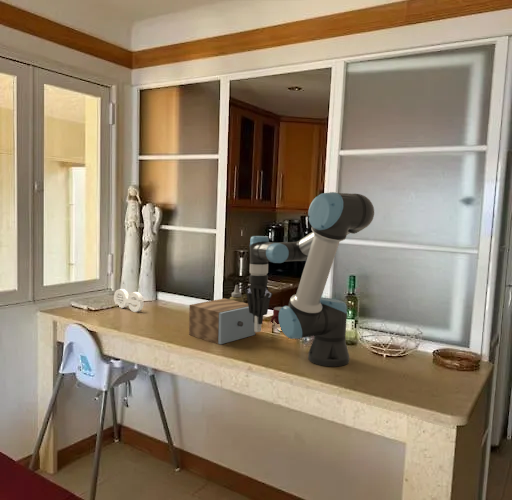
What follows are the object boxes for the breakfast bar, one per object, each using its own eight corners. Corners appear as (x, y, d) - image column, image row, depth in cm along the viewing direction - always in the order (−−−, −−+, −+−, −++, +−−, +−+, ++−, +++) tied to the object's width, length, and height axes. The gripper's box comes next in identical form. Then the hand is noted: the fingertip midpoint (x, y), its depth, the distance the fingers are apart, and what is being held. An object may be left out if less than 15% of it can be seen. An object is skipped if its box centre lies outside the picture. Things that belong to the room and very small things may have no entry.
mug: (279, 334, 211) (280, 312, 210) (265, 331, 216) (266, 309, 215) (293, 330, 219) (294, 309, 218) (280, 327, 224) (281, 306, 223)
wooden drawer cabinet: (252, 334, 210) (253, 304, 209) (217, 344, 195) (218, 312, 194) (223, 326, 222) (224, 298, 221) (189, 334, 207) (189, 304, 205)
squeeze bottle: (247, 322, 232) (248, 285, 230) (237, 325, 225) (238, 287, 223) (234, 319, 236) (235, 283, 234) (224, 322, 229) (224, 285, 228)
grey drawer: (257, 335, 208) (258, 306, 207) (223, 345, 193) (223, 314, 192) (225, 326, 222) (226, 299, 220) (190, 334, 206) (191, 305, 205)
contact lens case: (113, 306, 256) (113, 288, 255) (117, 305, 258) (117, 287, 257) (140, 313, 243) (140, 293, 242) (143, 312, 244) (143, 293, 243)
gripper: (277, 274, 192) (276, 332, 194) (252, 271, 201) (251, 327, 203) (265, 276, 187) (264, 336, 189) (240, 273, 195) (239, 330, 197)
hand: (257, 331), depth 196 cm, fingers closed
